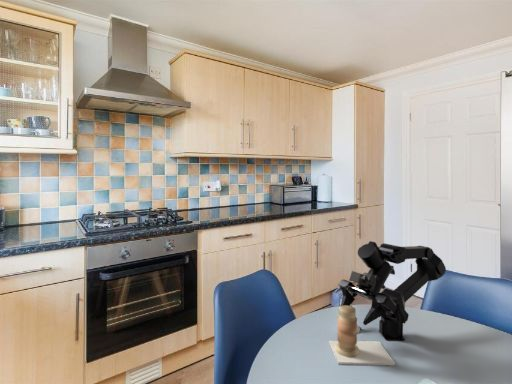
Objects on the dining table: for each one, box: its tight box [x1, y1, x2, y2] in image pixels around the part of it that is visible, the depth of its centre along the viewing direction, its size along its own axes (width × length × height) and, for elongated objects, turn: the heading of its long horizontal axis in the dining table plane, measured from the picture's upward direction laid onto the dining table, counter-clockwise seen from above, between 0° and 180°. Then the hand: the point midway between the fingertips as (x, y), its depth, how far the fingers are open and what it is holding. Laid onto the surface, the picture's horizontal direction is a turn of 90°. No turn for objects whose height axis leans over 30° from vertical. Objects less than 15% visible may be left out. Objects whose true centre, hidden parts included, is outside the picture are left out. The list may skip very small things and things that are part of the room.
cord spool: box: [335, 305, 359, 357], centre depth 95 cm, size 7×7×13 cm
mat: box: [329, 340, 396, 366], centre depth 95 cm, size 16×12×1 cm
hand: (352, 318), depth 95 cm, fingers open, 9 cm apart
